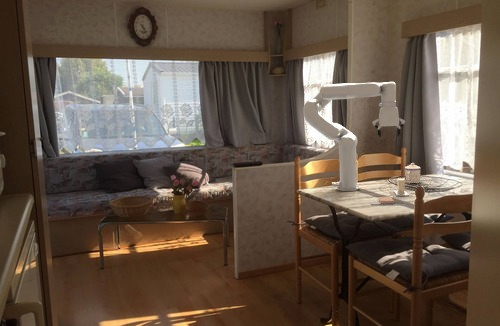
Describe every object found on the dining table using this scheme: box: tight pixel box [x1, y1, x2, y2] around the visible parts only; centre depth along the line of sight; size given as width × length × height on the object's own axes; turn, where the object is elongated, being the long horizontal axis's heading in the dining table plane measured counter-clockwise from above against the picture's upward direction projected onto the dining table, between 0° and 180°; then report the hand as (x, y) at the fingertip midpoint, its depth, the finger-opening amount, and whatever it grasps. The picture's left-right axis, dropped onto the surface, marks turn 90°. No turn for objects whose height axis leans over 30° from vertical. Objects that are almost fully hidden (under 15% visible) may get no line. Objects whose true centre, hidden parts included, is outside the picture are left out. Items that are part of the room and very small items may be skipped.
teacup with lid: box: [404, 162, 421, 184], centre depth 256 cm, size 12×9×12 cm
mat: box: [370, 203, 406, 207], centre depth 214 cm, size 16×16×1 cm
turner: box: [392, 178, 409, 196], centre depth 226 cm, size 6×10×8 cm, turn 171°
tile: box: [378, 196, 395, 204], centre depth 213 cm, size 6×2×8 cm
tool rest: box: [389, 190, 414, 198], centre depth 227 cm, size 10×13×1 cm
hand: (388, 136), depth 237 cm, fingers open, 9 cm apart
